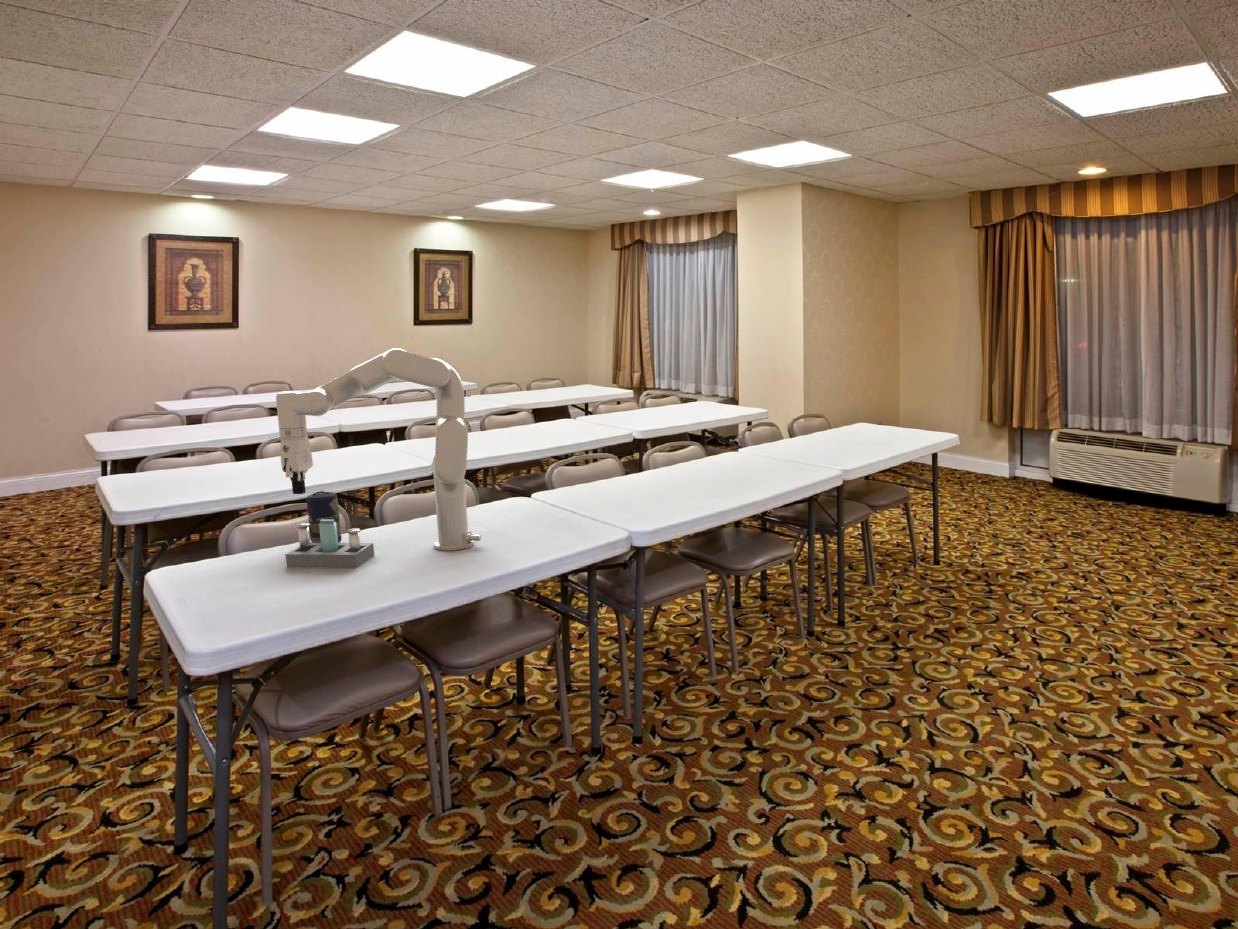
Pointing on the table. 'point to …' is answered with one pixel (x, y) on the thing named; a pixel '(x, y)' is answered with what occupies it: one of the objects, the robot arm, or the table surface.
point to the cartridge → (328, 536)
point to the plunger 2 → (354, 539)
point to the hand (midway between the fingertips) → (299, 493)
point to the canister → (322, 513)
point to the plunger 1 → (303, 536)
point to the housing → (330, 556)
